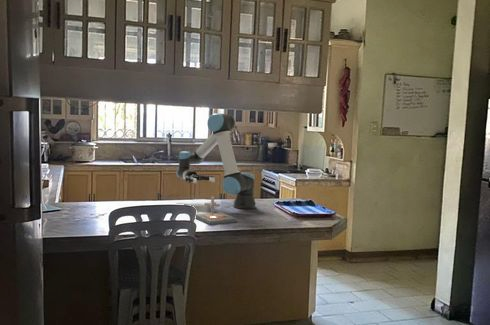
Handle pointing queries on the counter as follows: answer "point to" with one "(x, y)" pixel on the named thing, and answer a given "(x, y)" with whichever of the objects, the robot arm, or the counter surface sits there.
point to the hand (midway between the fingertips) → (205, 180)
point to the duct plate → (215, 218)
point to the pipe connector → (212, 204)
